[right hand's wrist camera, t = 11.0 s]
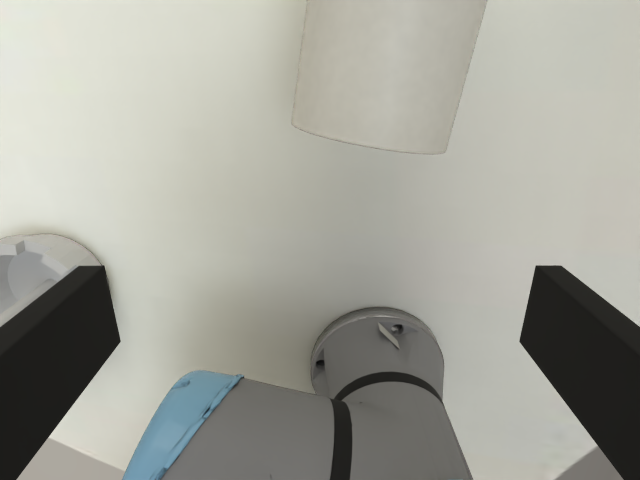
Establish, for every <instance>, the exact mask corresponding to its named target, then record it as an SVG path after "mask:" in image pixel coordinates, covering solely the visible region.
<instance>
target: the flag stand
mask: <svg viewBox="0 0 640 480" xmlns="http://www.w3.org/2000/svg"><path fill="white" fill-rule="evenodd" d="M78 266H101V264H100V262H99V261H98V260H97V259H96V257H95V256H94V255H93V254H92V253H91V252H90V251H88V250H87V249H86V248H85V247H83V246H82V245H80V244H79V243H77V242H75V241H73V240H71V239H68V238H66V237H63V236H58V235H54V234H37V235H32V236H30V235H16V236H9V237H5V238H2V239H0V327H1V326H2V325H4V324H5V323H6V322H7V321H9V320H10V319H11V318H12V317H14V316H15V315H16V314H18V313H19V312H20V311H21V310H23V309H24V308H25V307H27V306H28V305H29V304H30V303H32V302H33V301H34V300H36V299H37V298H38V297H39V296H41V295H42V294H43V293H45V292H46V291H47V290H48V289H50V288H51V287H52V286H54V285H55V284H56V283H57V282H59V281H60V280H61V279H62V278H64V277H65V276H66V275H68V274H69V273H70V272H71V271H73V270H74V269H75V268H77V267H78ZM106 277H107V276H106ZM107 281H108V279H107ZM108 286H109V285H108Z"/></svg>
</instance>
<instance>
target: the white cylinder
mask: <svg viewBox="0 0 640 480" xmlns="http://www.w3.org/2000/svg"><path fill="white" fill-rule="evenodd" d="M486 4H487V0H307V8H306V15H305V23H304V30H303V38H302V46H301V53H300V61H299V69H298V76H297V84H296V92H295V99H294V107H293V114H292V122H291V123H292V125H293V126H294V127H296V128H298V129H300V130H303V131H305V132H308V133H311V134H314V135H318V136H321V137H325V138H329V139H332V140H337V141H341V142H345V143H350V144H355V145H360V146H365V147H371V148H376V149H383V150H389V151H396V152H404V153H414V154H441V153H444V152H445V151H446V149H447V145H448V141H449V138H450V134H451V130H452V127H453V123H454V120H455V116H456V112H457V109H458V105H459V101H460V98H461V94H462V91H463V87H464V83H465V80H466V76H467V73H468V69H469V65H470V62H471V58H472V54H473V51H474V47H475V44H476V40H477V36H478V33H479V29H480V25H481V22H482V18H483V15H484V11H485V7H486Z"/></svg>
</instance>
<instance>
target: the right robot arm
mask: <svg viewBox="0 0 640 480" xmlns="http://www.w3.org/2000/svg"><path fill="white" fill-rule="evenodd" d="M120 342H121V341H120V336H119V332H118V327H117V323H116V318H115V313H114V309H113V304H112V300H111V295H110V290H109V286H108V281H107V277H106V272H105V267H104V266H78V267H77V268H75V269H74V270H73V271H71V272H70V273H69V274H68V275H66V276H65V277H64V278H62V279H61V280H60V281H59V282H57V283H56V284H55V285H54V286H52V287H51V288H50V289H48V290H47V291H46V292H45V293H43V294H42V295H41V296H39V297H38V298H37V299H36V300H34V301H33V302H32V303H30V304H29V305H28V306H27V307H25V308H24V309H23V310H21V311H20V312H19V313H18V314H16V315H15V316H14V317H12V318H11V319H10V320H9V321H7V322H6V323H5V324H4V325H2V326H1V327H0V480H16V479H17V478H18V477H19V475H20V474H21V473H22V471H23V470H24V469H25V467H26V466H27V465H28V463H29V462H30V461H31V459H32V458H33V457H34V455H35V454H36V453H37V451H38V450H39V449H40V448H41V446H42V445H43V443H44V442H45V441H46V439H47V438H48V437H49V436H50V434H51V433H52V432H53V430H54V429H55V428H56V426H57V425H58V424H59V422H60V421H61V420H62V418H63V417H64V416H65V414H66V413H67V412H68V410H69V409H70V408H71V406H72V405H73V404H74V403H75V401H76V400H77V399H78V397H79V396H80V395H81V393H82V392H83V391H84V389H85V388H86V387H87V385H88V384H89V383H90V381H91V380H92V379H93V377H94V376H95V375H96V373H97V372H98V371H99V369H100V368H101V367H102V365H103V364H104V363H105V361H106V360H107V359H108V358H109V356H110V355H111V354H112V352H113V351H114V350H115V348H116V347H117V346H118V344H119V343H120ZM519 342H520V343H521V344H522V346H523V347H524V348H525V350H526V351H527V352H528V354H529V355H530V356H531V358H532V359H533V360H534V361H535V363H536V364H537V365H538V367H539V368H540V369H541V371H542V372H543V373H544V375H545V376H546V377H547V379H548V380H549V381H550V383H551V384H552V385H553V387H554V388H555V389H556V391H557V392H558V393H559V395H560V396H561V397H562V399H563V400H564V401H565V403H566V404H567V405H568V406H569V408H570V409H571V410H572V412H573V413H574V414H575V416H576V417H577V418H578V420H579V421H580V422H581V424H582V425H583V426H584V428H585V429H586V430H587V432H588V433H589V434H590V436H591V437H592V438H593V440H594V441H595V442H596V444H597V445H598V446H599V448H600V449H601V450H602V451H603V453H604V454H605V455H606V457H607V458H608V459H609V461H610V462H611V463H612V465H613V466H614V467H615V469H616V470H617V471H618V473H619V474H620V475H621V477H622V478H623V479H624V480H640V327H639V326H638V325H636V324H635V323H634V322H633V321H631V320H630V319H629V318H628V317H626V316H625V315H624V314H622V313H621V312H620V311H619V310H617V309H616V308H615V307H613V306H612V305H611V304H610V303H608V302H607V301H606V300H604V299H603V298H602V297H601V296H599V295H598V294H597V293H595V292H594V291H593V290H592V289H590V288H589V287H588V286H586V285H585V284H584V283H583V282H581V281H580V280H579V279H578V278H576V277H575V276H574V275H572V274H571V273H570V272H569V271H567V270H566V269H565V268H563V267H562V266H536V267H535V272H534V277H533V281H532V286H531V290H530V295H529V300H528V304H527V309H526V313H525V318H524V323H523V327H522V332H521V336H520V341H519ZM443 377H444V360H443V355H442V352H441V350H440V347H439V345H438V343H437V341H436V339H435V337H434V335H433V333H432V332H431V331H430V329H429V328H428V327H427V326H426V325H425V324H424V323H423V322H422V321H420V320H419V319H417V318H416V317H414V316H412V315H410V314H408V313H406V312H403V311H400V310H396V309H391V308H367V309H361V310H357V311H354V312H351V313H349V314H346V315H344V316H342V317H341V318H339V319H337V320H336V321H334V322H333V323H332V324H330V325H329V326H328V327H327V328H326V329H325V330H324V331H323V333H322V334H321V335H320V337H319V338H318V340H317V342H316V344H315V346H314V349H313V352H312V358H311V380H312V384H313V387H314V390H315V392H316V394H317V395H315V394H310V393H305V392H301V391H296V390H292V389H287V388H283V387H278V386H274V385H270V384H266V383H262V382H258V381H253V380H249V379H245V378H244V375H240V374H238V375H236V376H233V375H227V374H221V373H215V372H210V371H201V370H199V371H193V372H190V373H188V374H186V375H185V376H183V377H182V378H181V379H180V380H178V381H177V382H176V383H175V385H174V386H173V387H172V388H171V390H170V391H169V392H168V394H167V395H166V397H165V398H164V400H163V401H162V403H161V404H160V406H159V407H158V409H157V411H156V412H155V414H154V416H153V418H152V420H151V421H150V423H149V425H148V427H147V429H146V430H145V432H144V434H143V436H142V438H141V440H140V442H139V444H138V446H137V448H136V450H135V452H134V454H133V456H132V458H131V461H130V463H129V465H128V467H127V469H126V472H125V474H124V476H123V479H122V480H473V478H472V475H471V473H470V470H469V468H468V465H467V463H466V460H465V458H464V455H463V453H462V450H461V448H460V445H459V442H458V440H457V437H456V435H455V432H454V430H453V427H452V425H451V422H450V420H449V417H448V415H447V412H446V410H445V407H444V404H443V402H442V396H443Z"/></svg>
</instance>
